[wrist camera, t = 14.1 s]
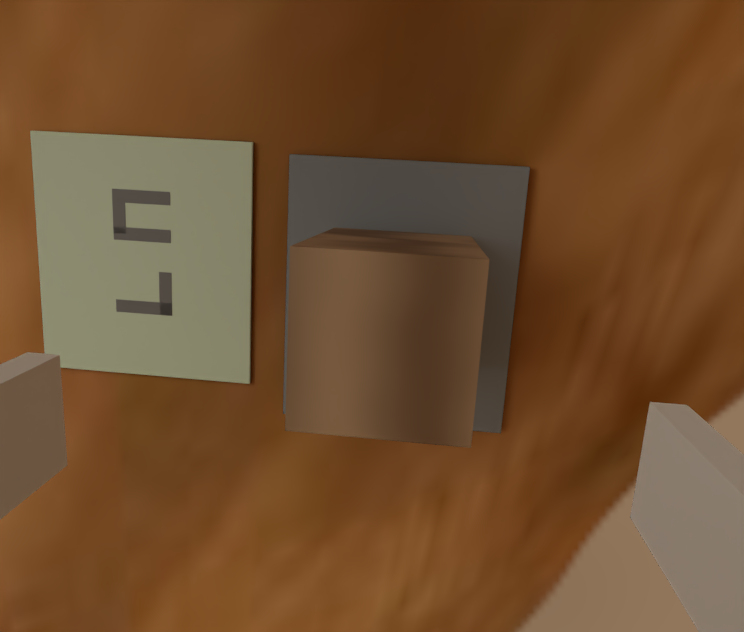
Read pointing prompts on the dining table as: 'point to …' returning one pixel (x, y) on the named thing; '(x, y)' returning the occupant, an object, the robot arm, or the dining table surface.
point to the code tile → (145, 253)
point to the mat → (425, 215)
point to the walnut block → (385, 335)
